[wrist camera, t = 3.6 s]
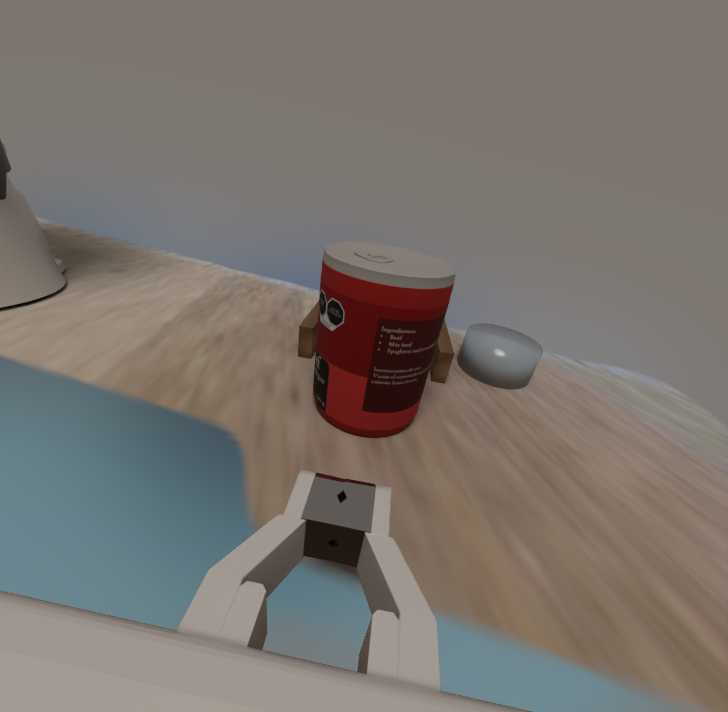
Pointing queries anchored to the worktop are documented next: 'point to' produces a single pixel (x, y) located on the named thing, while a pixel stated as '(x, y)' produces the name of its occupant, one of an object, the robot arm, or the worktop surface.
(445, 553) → the worktop surface
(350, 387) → the canned food
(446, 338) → the bay
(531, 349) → the grey rounded cylinder
